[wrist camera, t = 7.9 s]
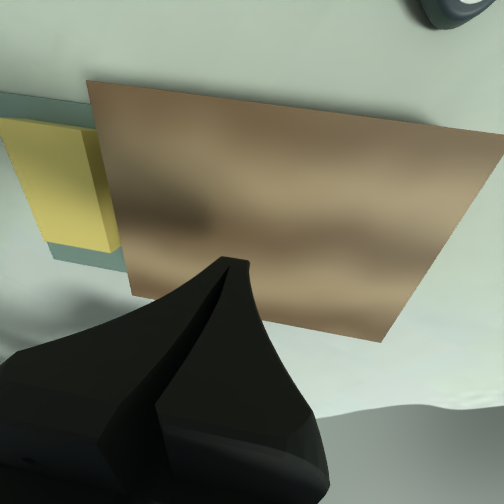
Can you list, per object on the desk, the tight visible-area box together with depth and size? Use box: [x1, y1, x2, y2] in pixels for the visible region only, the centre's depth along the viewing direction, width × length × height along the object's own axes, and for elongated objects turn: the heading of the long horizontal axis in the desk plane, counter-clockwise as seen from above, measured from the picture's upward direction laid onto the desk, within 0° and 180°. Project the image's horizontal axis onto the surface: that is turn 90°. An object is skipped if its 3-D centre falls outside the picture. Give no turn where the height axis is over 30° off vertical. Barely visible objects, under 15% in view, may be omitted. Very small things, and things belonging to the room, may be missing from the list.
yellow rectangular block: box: [0, 118, 121, 253], centre depth 17 cm, size 9×6×2 cm, turn 173°
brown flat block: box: [86, 80, 504, 343], centre depth 15 cm, size 14×20×4 cm
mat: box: [0, 92, 127, 273], centre depth 18 cm, size 14×11×1 cm
